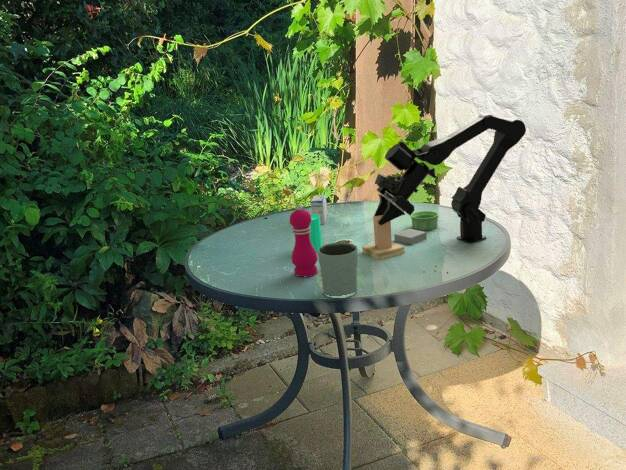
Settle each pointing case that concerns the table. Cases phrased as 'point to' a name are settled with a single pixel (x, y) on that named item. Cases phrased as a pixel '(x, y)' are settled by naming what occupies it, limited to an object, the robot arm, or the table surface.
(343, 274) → the plant pot
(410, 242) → the slate block
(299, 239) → the pepper mill
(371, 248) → the oak block
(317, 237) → the candle
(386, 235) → the terracotta block
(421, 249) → the table surface
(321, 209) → the medicine box
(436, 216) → the ramekin
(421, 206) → the table surface
